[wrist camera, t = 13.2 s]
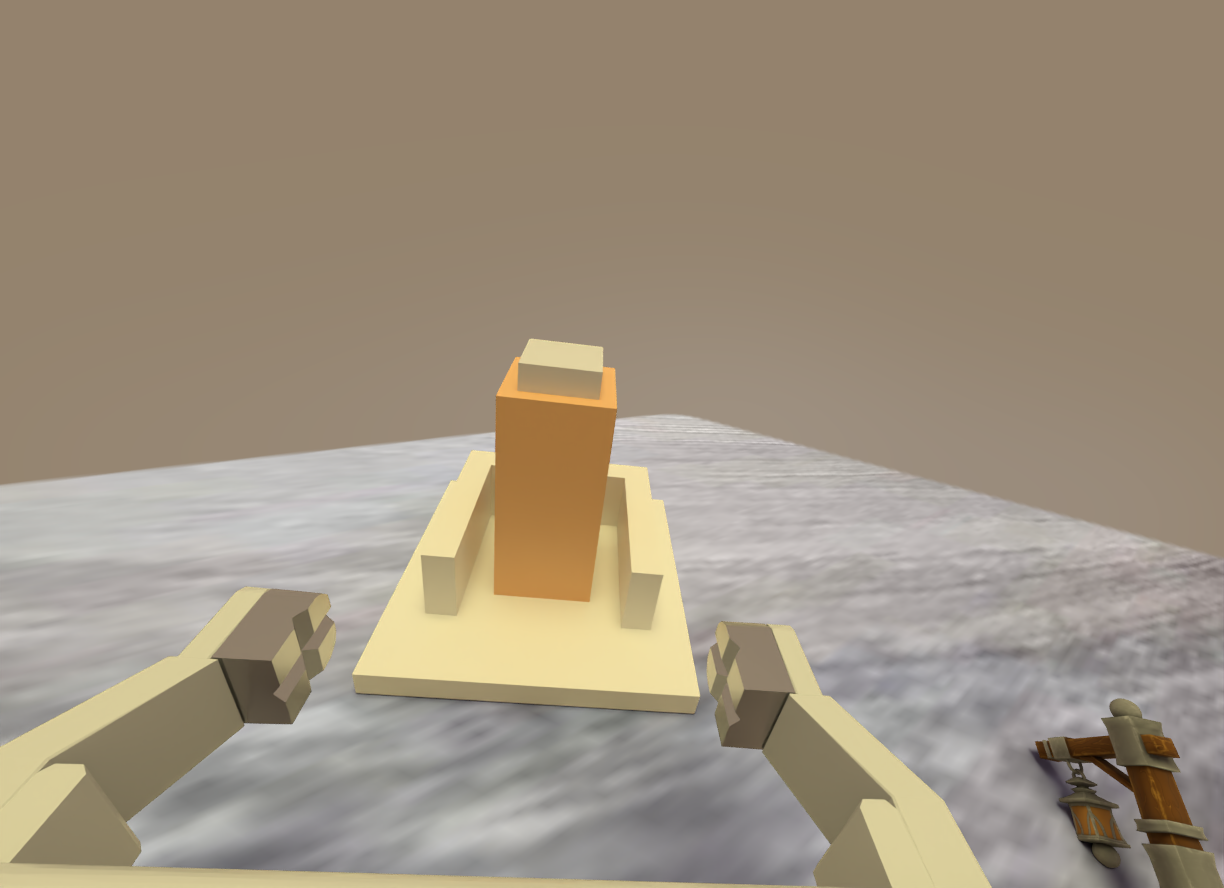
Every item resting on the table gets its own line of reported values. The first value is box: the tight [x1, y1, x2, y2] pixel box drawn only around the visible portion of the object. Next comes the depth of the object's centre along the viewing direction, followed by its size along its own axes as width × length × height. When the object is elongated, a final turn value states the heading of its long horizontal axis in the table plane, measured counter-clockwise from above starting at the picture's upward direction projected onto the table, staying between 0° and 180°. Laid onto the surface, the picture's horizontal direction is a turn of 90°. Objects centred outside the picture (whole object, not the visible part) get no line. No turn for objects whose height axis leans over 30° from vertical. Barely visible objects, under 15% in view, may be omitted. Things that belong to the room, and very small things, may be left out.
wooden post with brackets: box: [1035, 699, 1224, 888], centre depth 14 cm, size 2×8×4 cm, turn 172°
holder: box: [352, 450, 700, 714], centre depth 21 cm, size 12×12×4 cm
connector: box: [494, 339, 617, 602], centre depth 19 cm, size 4×4×10 cm
